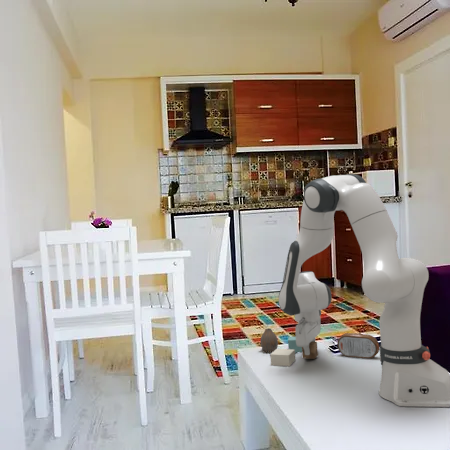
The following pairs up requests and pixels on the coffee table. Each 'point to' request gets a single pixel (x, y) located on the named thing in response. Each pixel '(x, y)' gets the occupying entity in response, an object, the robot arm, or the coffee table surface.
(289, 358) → the limestone block
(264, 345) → the vase
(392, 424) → the coffee table surface
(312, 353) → the walnut block
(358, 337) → the tin
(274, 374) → the coffee table surface
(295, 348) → the teal cube
